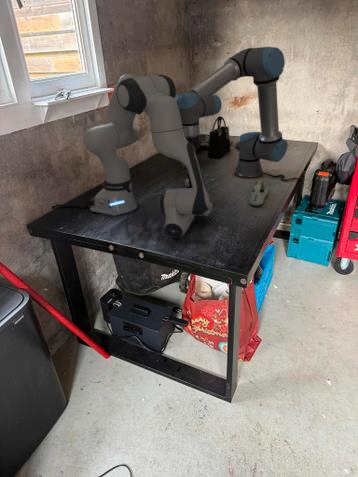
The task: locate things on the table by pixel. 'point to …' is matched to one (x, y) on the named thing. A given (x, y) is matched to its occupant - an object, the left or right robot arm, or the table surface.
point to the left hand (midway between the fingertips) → (192, 199)
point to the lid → (187, 182)
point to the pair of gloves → (205, 143)
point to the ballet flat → (258, 193)
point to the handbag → (219, 140)
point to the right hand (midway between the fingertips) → (191, 189)
